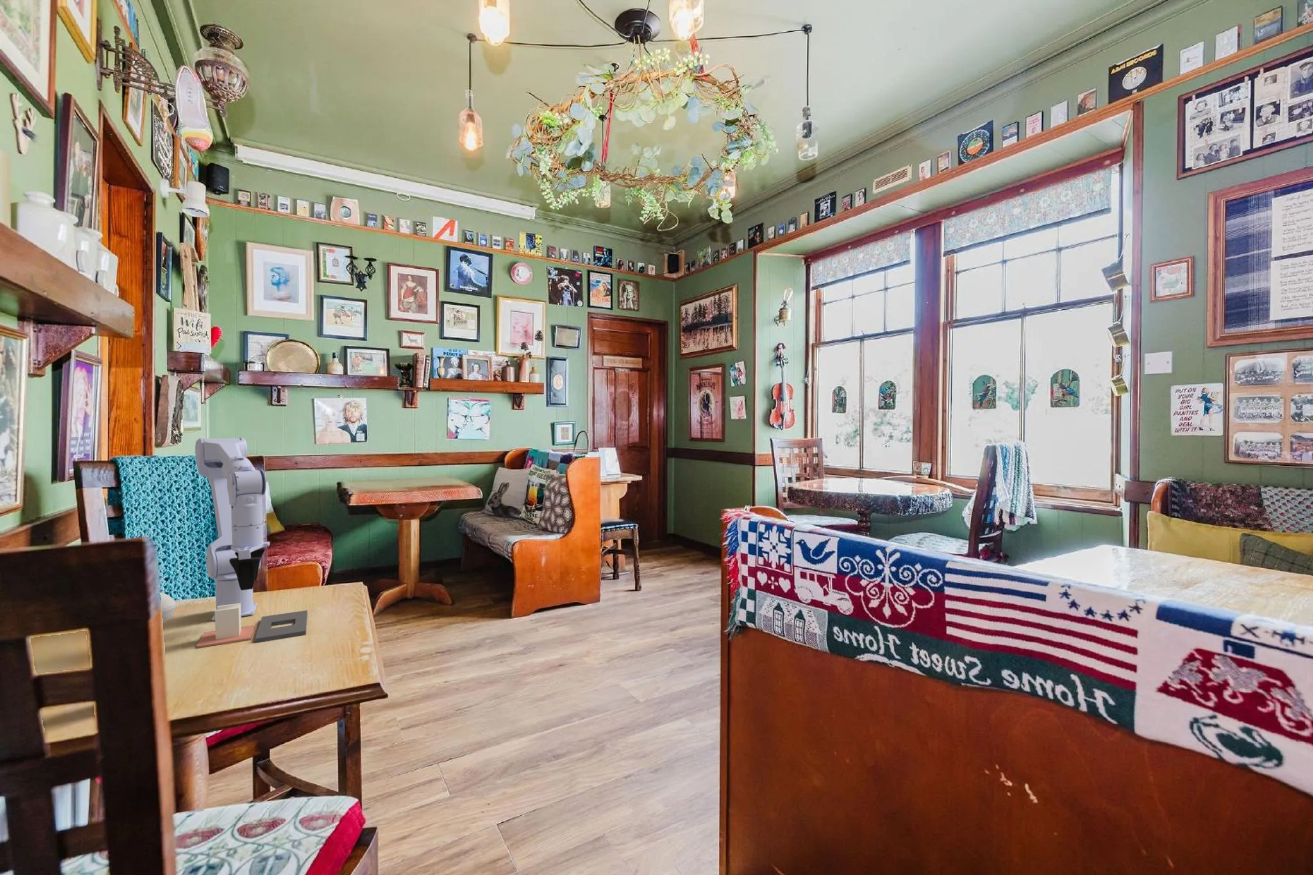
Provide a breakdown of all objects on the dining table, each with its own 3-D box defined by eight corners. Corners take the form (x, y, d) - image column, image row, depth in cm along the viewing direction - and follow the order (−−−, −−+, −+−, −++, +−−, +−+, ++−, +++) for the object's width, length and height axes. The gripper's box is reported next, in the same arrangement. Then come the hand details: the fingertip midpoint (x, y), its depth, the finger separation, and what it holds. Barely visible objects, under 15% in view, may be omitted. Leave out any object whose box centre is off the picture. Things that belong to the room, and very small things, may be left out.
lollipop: (126, 686, 99) (124, 600, 99) (138, 673, 105) (136, 591, 104) (172, 678, 102) (170, 595, 102) (181, 666, 107) (179, 586, 107)
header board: (262, 620, 133) (261, 616, 133) (307, 613, 137) (307, 610, 137) (255, 642, 119) (255, 638, 119) (305, 634, 124) (305, 630, 124)
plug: (218, 633, 123) (217, 606, 123) (241, 630, 125) (240, 603, 125) (215, 639, 120) (215, 611, 120) (239, 636, 122) (238, 607, 122)
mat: (204, 634, 124) (204, 632, 124) (254, 626, 128) (254, 624, 128) (196, 648, 116) (196, 646, 116) (250, 639, 121) (250, 637, 121)
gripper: (266, 527, 124) (267, 590, 124) (271, 518, 136) (272, 575, 136) (225, 531, 120) (227, 595, 120) (234, 521, 133) (236, 579, 133)
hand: (248, 585), depth 128 cm, fingers open, 7 cm apart
